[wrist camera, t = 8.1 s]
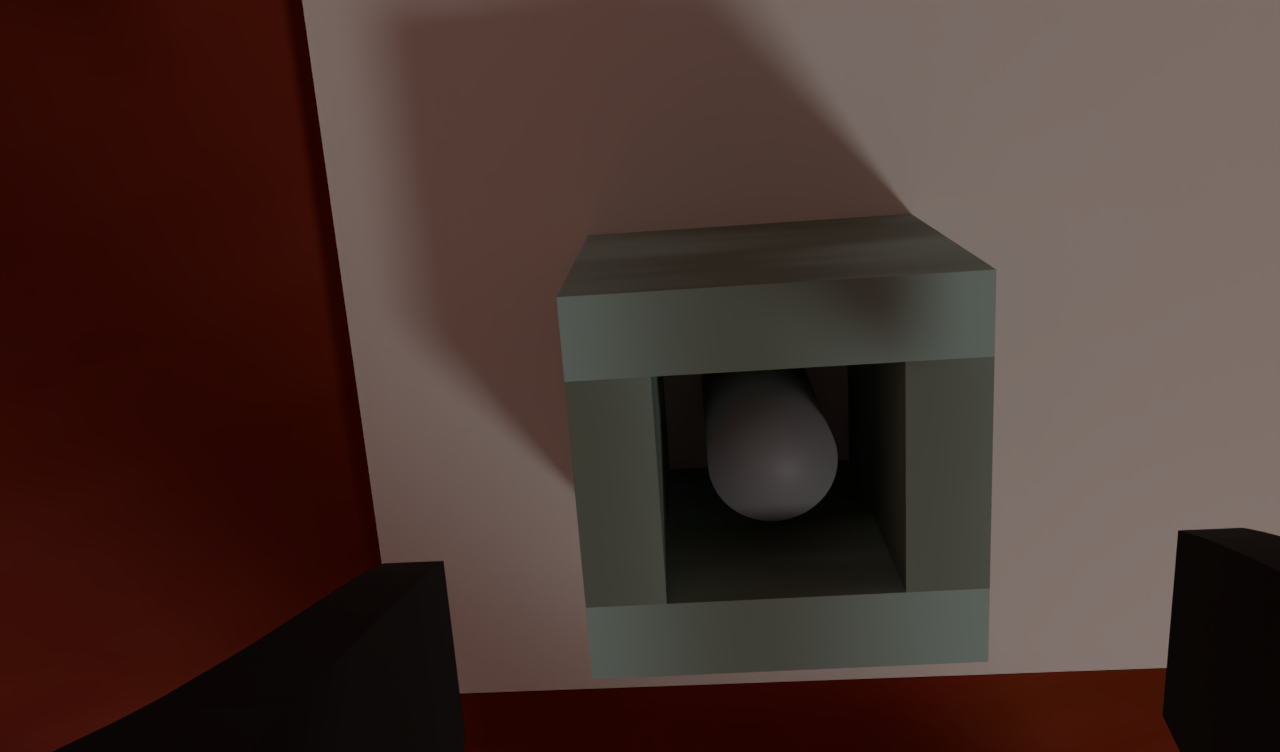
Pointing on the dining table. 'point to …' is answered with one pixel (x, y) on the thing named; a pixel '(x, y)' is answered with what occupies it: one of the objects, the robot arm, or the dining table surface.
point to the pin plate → (803, 191)
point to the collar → (863, 485)
